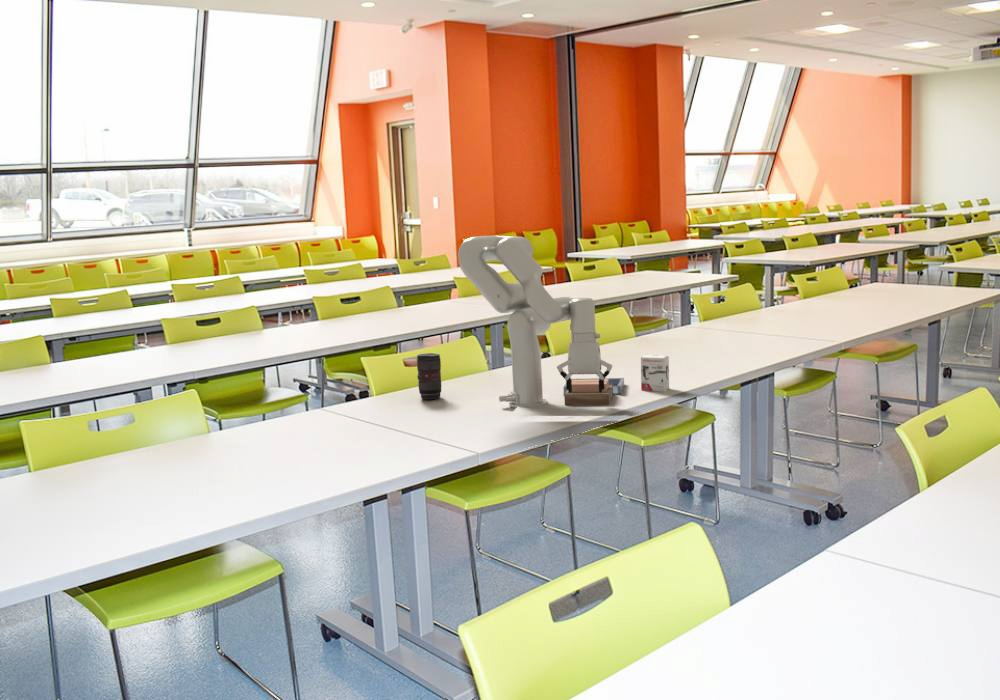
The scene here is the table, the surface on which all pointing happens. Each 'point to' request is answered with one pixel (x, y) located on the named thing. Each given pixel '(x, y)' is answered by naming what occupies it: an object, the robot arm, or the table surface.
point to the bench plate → (589, 397)
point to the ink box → (655, 373)
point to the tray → (612, 381)
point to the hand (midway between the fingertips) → (585, 392)
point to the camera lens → (429, 375)
